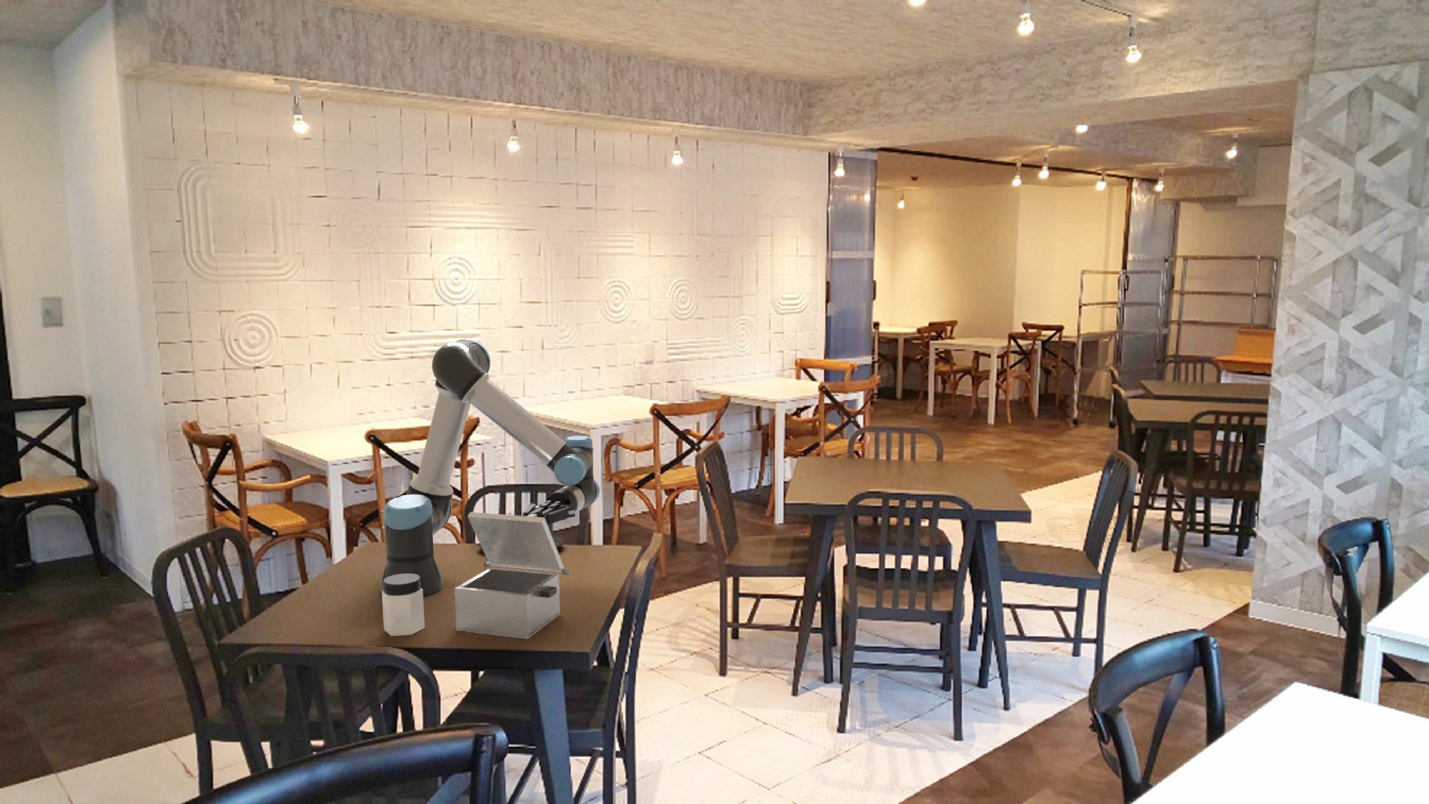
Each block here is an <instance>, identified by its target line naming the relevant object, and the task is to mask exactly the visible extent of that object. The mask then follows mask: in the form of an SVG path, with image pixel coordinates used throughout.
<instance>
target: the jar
mask: <svg viewBox="0 0 1429 804" xmlns="http://www.w3.org/2000/svg"><path fill="white" fill-rule="evenodd" d="M381 600H382V617H383V619H382V620H383V630H384V632H386V633H387V635H389V636H390V637H399V636H400V637H402V636H412V635H413V634H416V633H418V632H420V631H422V630H423V629H425V611H424V610H425V608H424V596H423V589H422V588H421V580H420V576H419V575H416V574H397V575H392V576H389V577H387V578H385V579H384V580H383V591H382V593H381Z"/></svg>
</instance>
